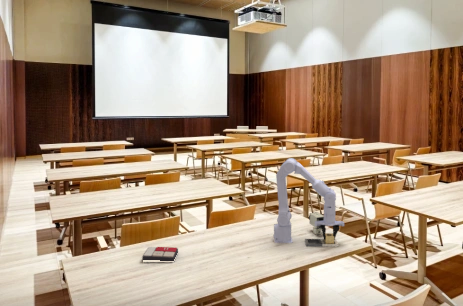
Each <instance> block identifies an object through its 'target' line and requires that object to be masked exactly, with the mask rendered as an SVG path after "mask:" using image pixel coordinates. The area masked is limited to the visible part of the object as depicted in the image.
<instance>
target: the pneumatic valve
mask: <svg viewBox="0 0 463 306" xmlns="http://www.w3.org/2000/svg"><path fill="white" fill-rule="evenodd" d="M308 220H309V225H311V226H313V227H312V233H313V234H314V235H316V236H318V235H322V230H321V227H320V226H315V221H323V220H324V214H322V213H319V212H317V211H316V212H310V213H309V215H308Z"/></svg>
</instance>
